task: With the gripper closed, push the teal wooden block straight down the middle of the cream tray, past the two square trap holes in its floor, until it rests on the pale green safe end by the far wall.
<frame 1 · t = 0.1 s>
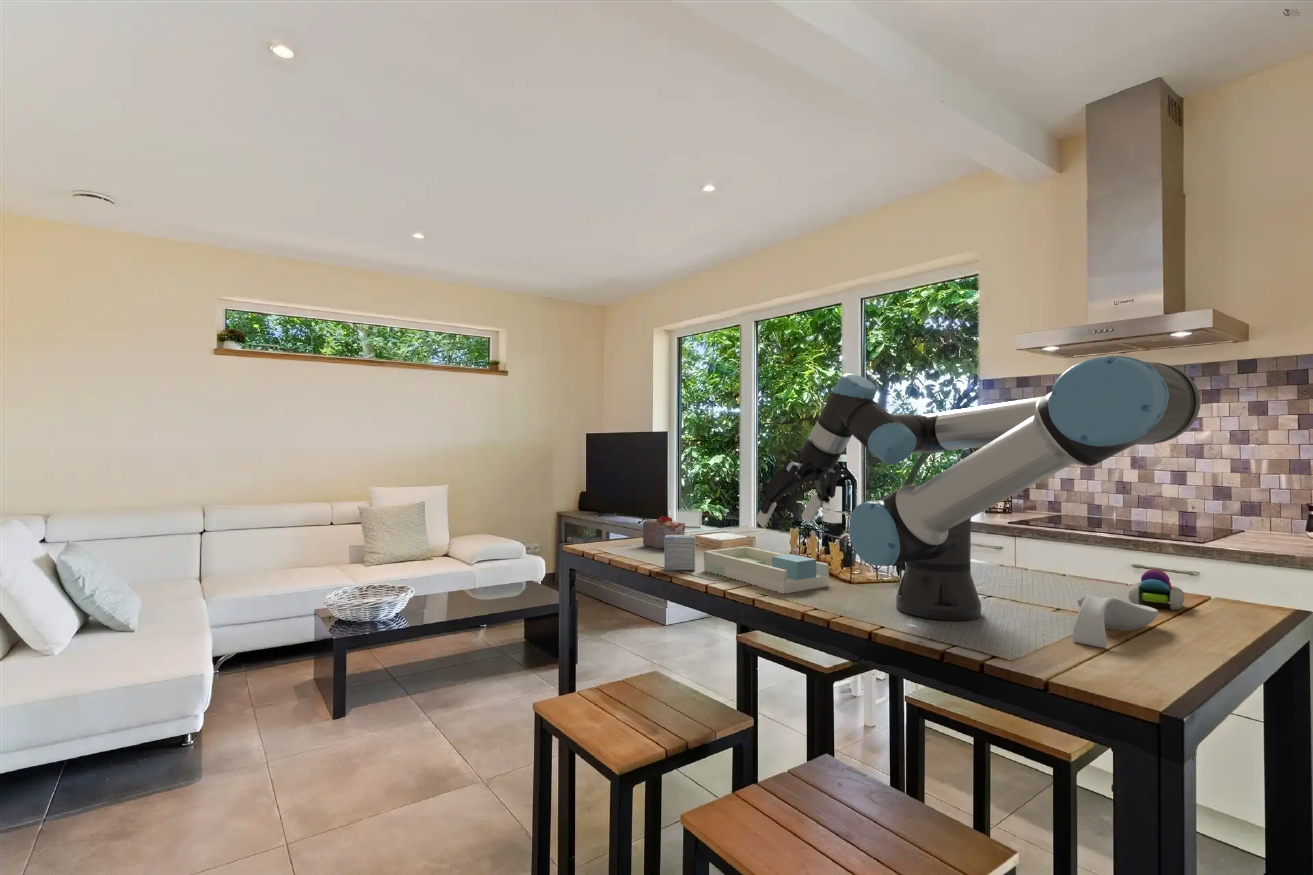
hand: (783, 521, 140), 15 cm above the table, tool tilted 35°, fingers open, 13 cm apart
medicine box: (680, 570, 163), on the table
spoon rest: (1108, 634, 109), on the table
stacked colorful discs: (1156, 606, 127), on the table
food item: (663, 548, 197), on the table
block: (793, 575, 144), point 2 cm above the table, touching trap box
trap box: (762, 578, 152), on the table
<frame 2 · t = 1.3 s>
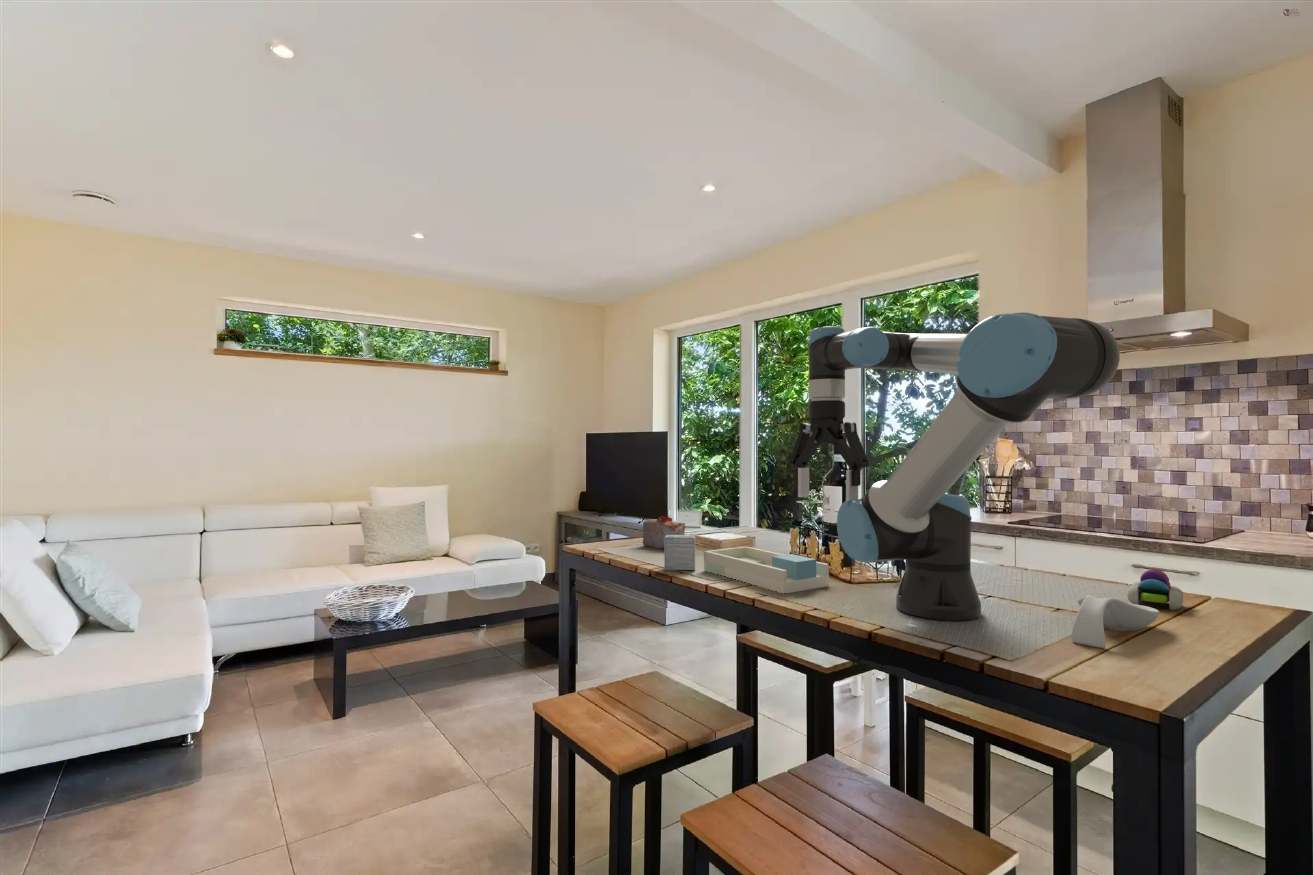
hand: (826, 499, 135), 21 cm above the table, tool pointing down, fingers open, 13 cm apart
nothing on the table moved.
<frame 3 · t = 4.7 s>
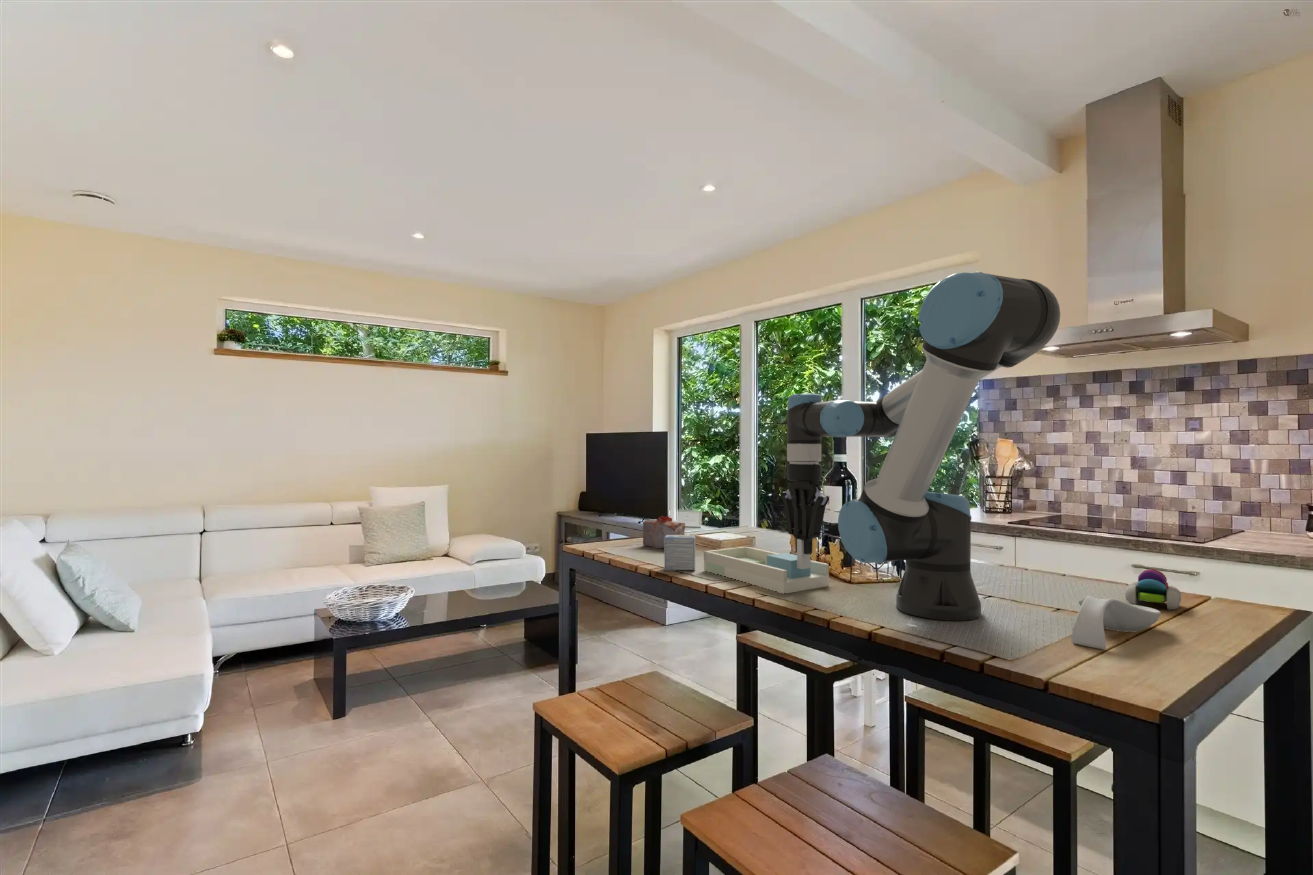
hand: (803, 567, 141), 5 cm above the table, tool pointing down, fingers closed
block: (788, 574, 145), point 3 cm above the table, touching gripper
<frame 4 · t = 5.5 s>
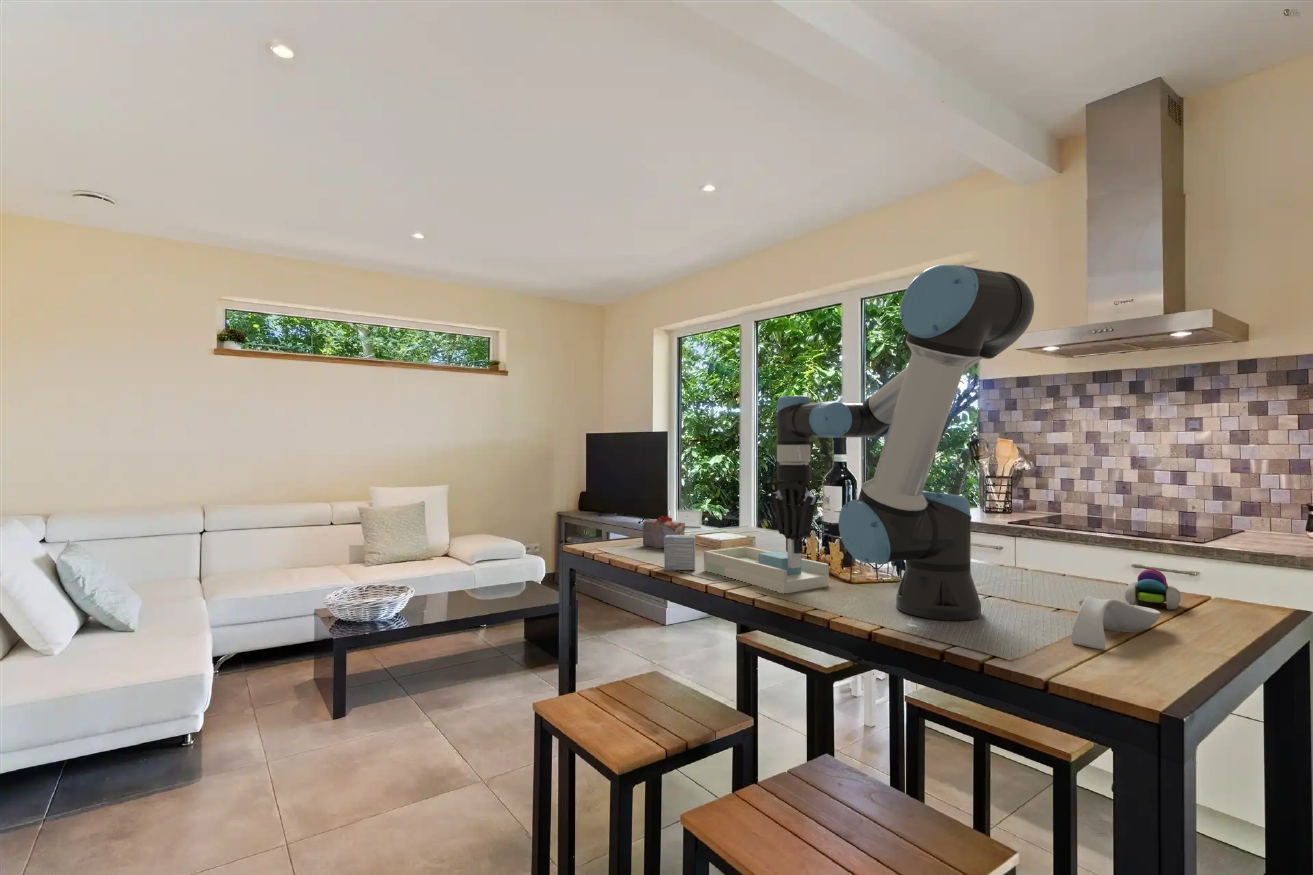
hand: (794, 567, 144), 4 cm above the table, tool pointing down, fingers closed
block: (779, 571, 147), point 2 cm above the table, touching gripper, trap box
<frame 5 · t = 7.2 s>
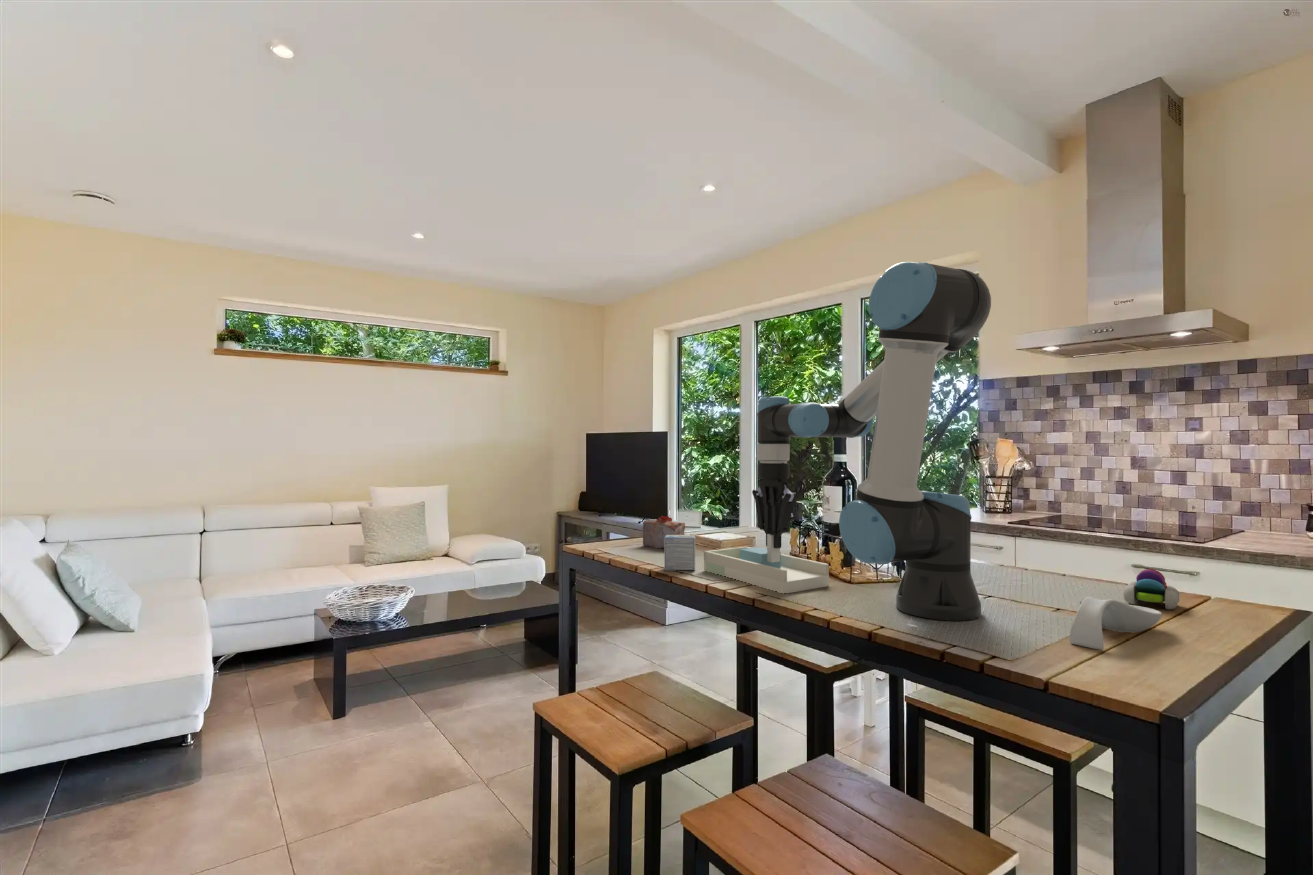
hand: (773, 561, 149), 5 cm above the table, tool pointing down, fingers closed
block: (760, 567, 153), point 2 cm above the table, touching gripper, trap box
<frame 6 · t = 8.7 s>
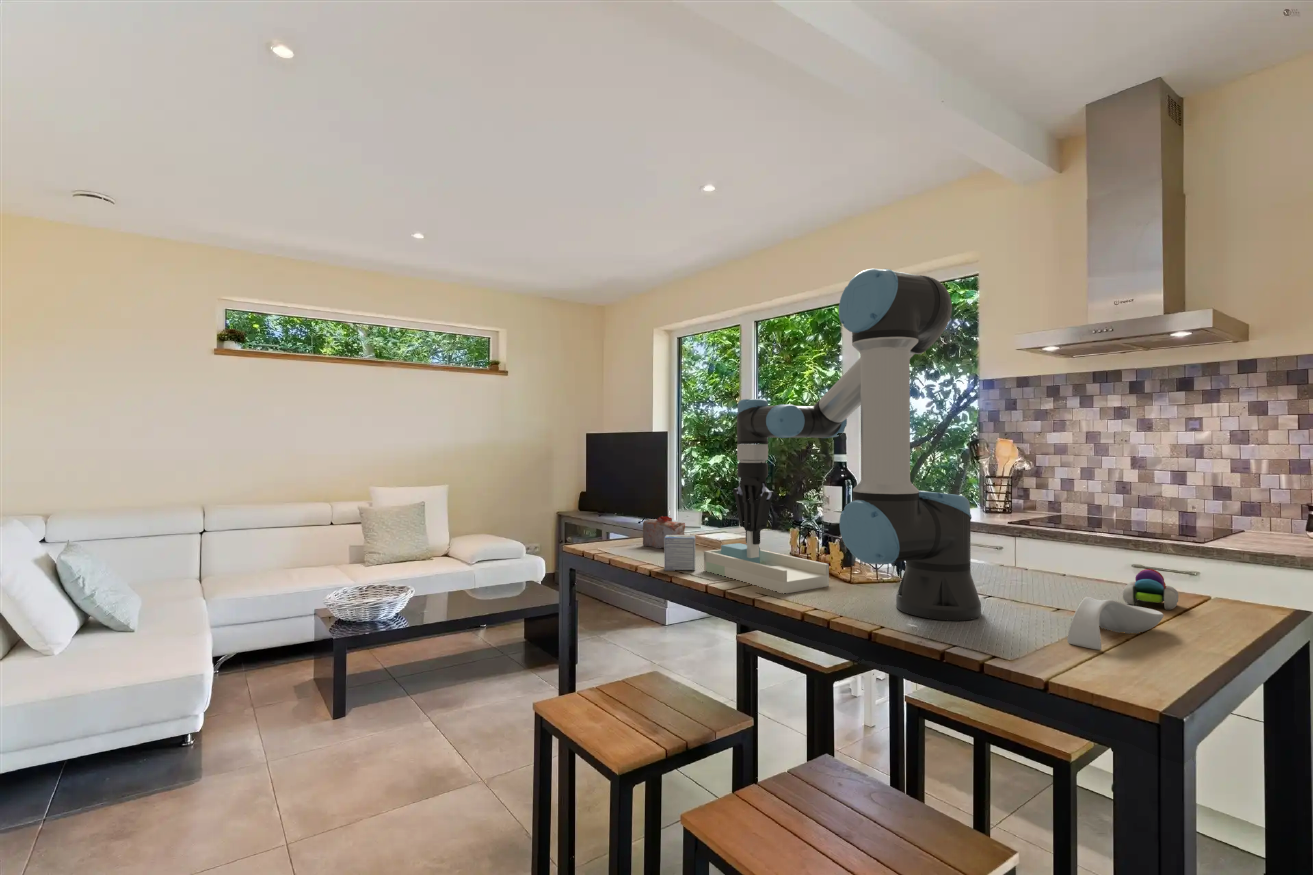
hand: (752, 557, 156), 5 cm above the table, tool pointing down, fingers closed
block: (740, 562, 160), point 3 cm above the table, touching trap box
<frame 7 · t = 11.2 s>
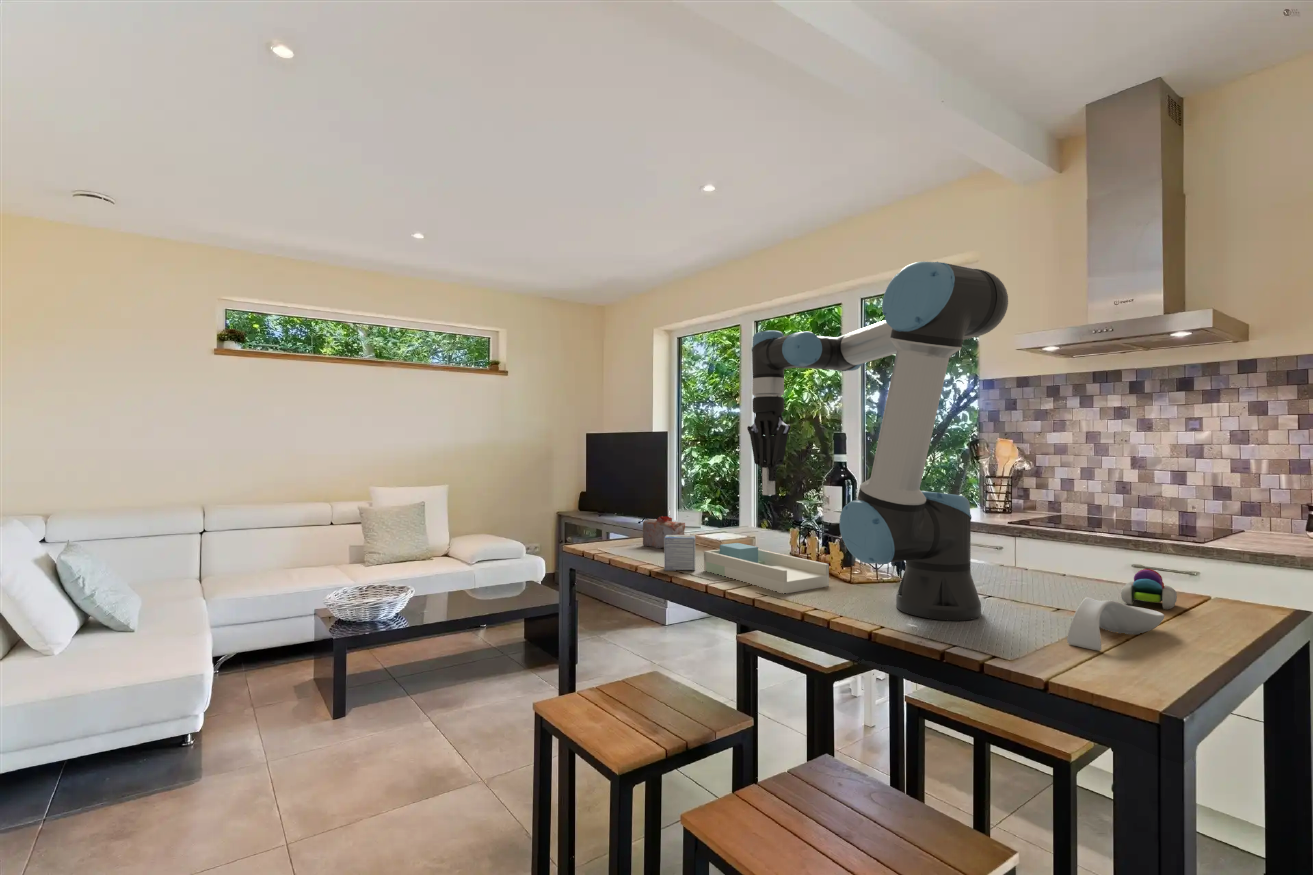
hand: (768, 494, 151), 20 cm above the table, tool pointing down, fingers closed
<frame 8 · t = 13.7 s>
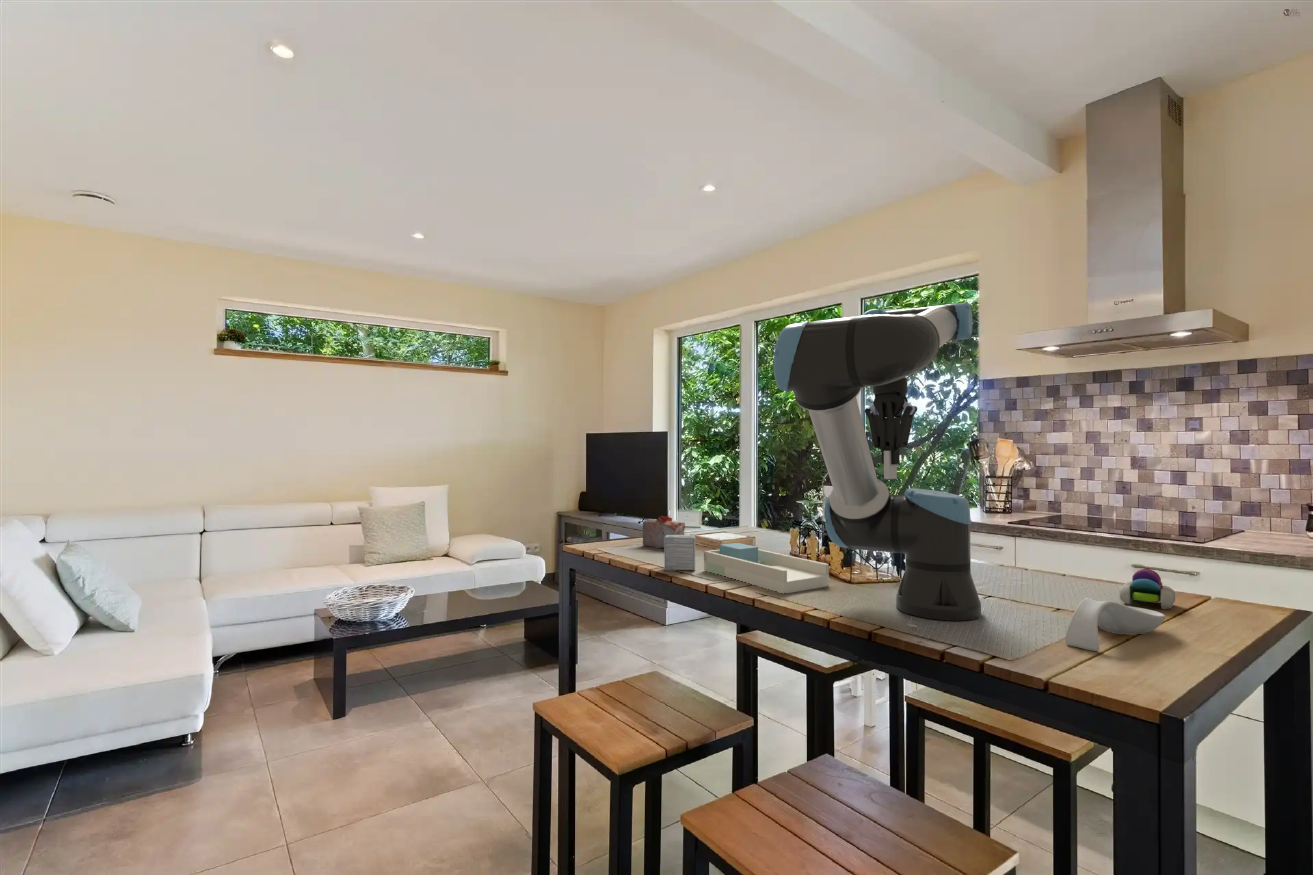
hand: (890, 478, 146), 24 cm above the table, tool pointing down, fingers closed
at the end: block inside the target area on the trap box (0.4 cm from its centre), point 2.5 cm above the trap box's base; block tilted 0° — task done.
